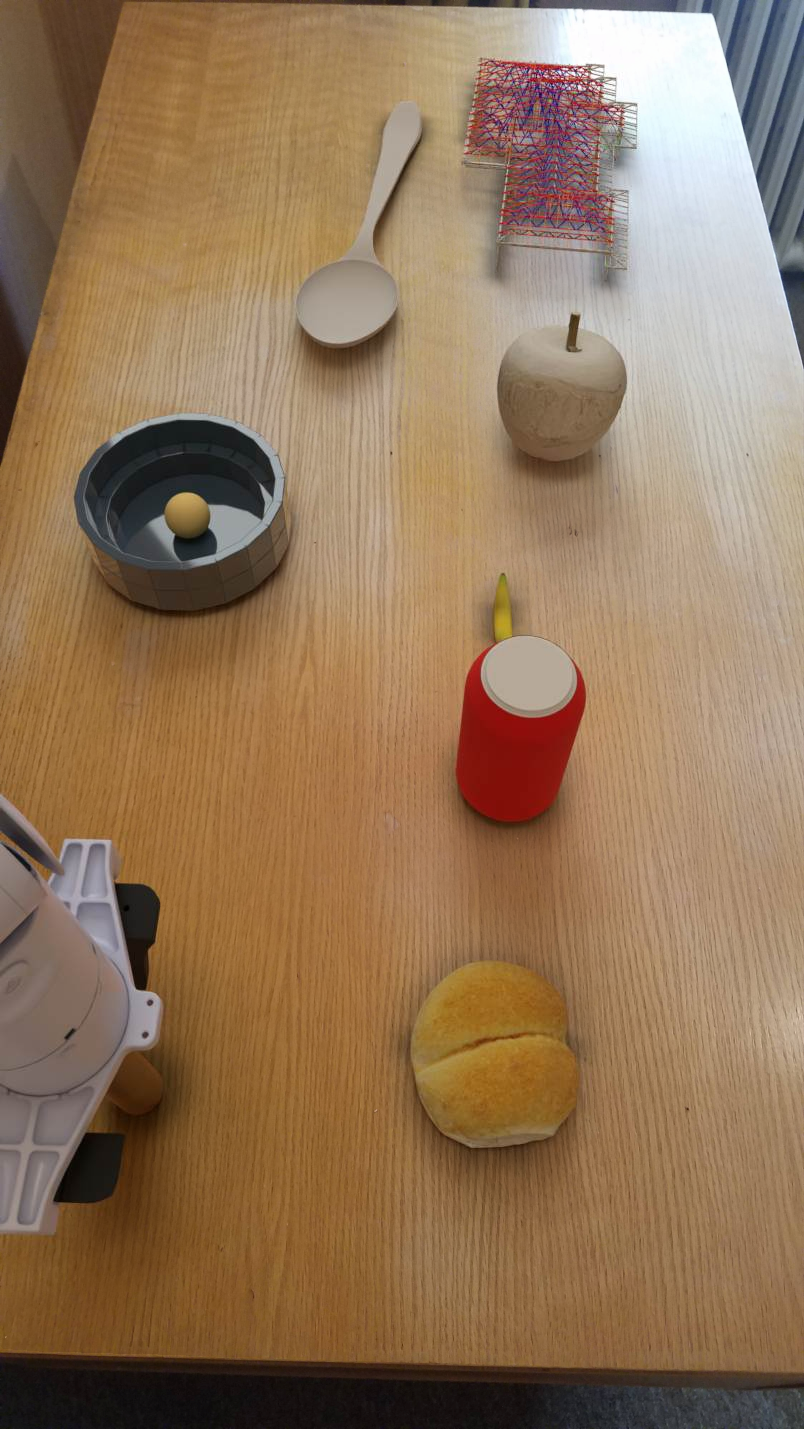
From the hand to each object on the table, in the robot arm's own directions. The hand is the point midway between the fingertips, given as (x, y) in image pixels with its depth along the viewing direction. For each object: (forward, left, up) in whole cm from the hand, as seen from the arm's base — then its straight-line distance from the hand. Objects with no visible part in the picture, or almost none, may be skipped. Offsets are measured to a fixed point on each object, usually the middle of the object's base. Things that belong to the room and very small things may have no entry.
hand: (112, 1066), depth 46 cm
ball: (-2, +36, -4) cm, 36 cm away
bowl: (-2, +36, -6) cm, 37 cm away
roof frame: (+24, +78, -6) cm, 82 cm away
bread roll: (+18, +2, -6) cm, 19 cm away
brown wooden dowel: (0, 0, -6) cm, 6 cm away
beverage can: (+19, +18, -6) cm, 27 cm away
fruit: (+19, +29, -6) cm, 35 cm away
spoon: (+9, +70, -6) cm, 71 cm away
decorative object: (+23, +46, -6) cm, 52 cm away
